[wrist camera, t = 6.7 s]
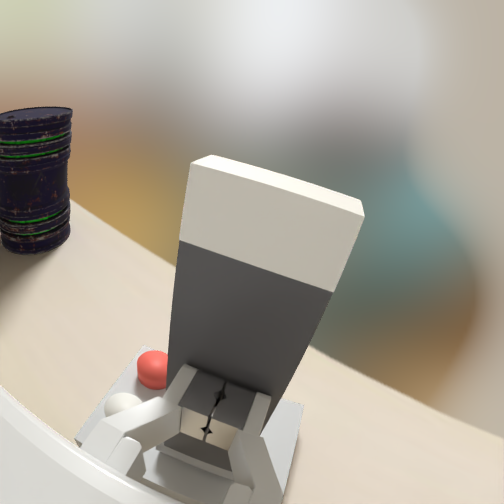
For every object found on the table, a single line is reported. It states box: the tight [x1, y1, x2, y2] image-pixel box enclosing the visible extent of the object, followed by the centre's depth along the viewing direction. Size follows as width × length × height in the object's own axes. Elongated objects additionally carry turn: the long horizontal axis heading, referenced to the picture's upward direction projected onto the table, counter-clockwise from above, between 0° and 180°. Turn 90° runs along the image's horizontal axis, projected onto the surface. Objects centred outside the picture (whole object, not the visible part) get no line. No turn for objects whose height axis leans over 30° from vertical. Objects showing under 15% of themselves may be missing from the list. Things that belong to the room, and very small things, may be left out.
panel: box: [74, 345, 304, 504], centre depth 17 cm, size 12×9×3 cm
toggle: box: [156, 155, 365, 480], centre depth 11 cm, size 5×2×15 cm, turn 75°
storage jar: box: [0, 107, 73, 255], centre depth 28 cm, size 10×10×15 cm
